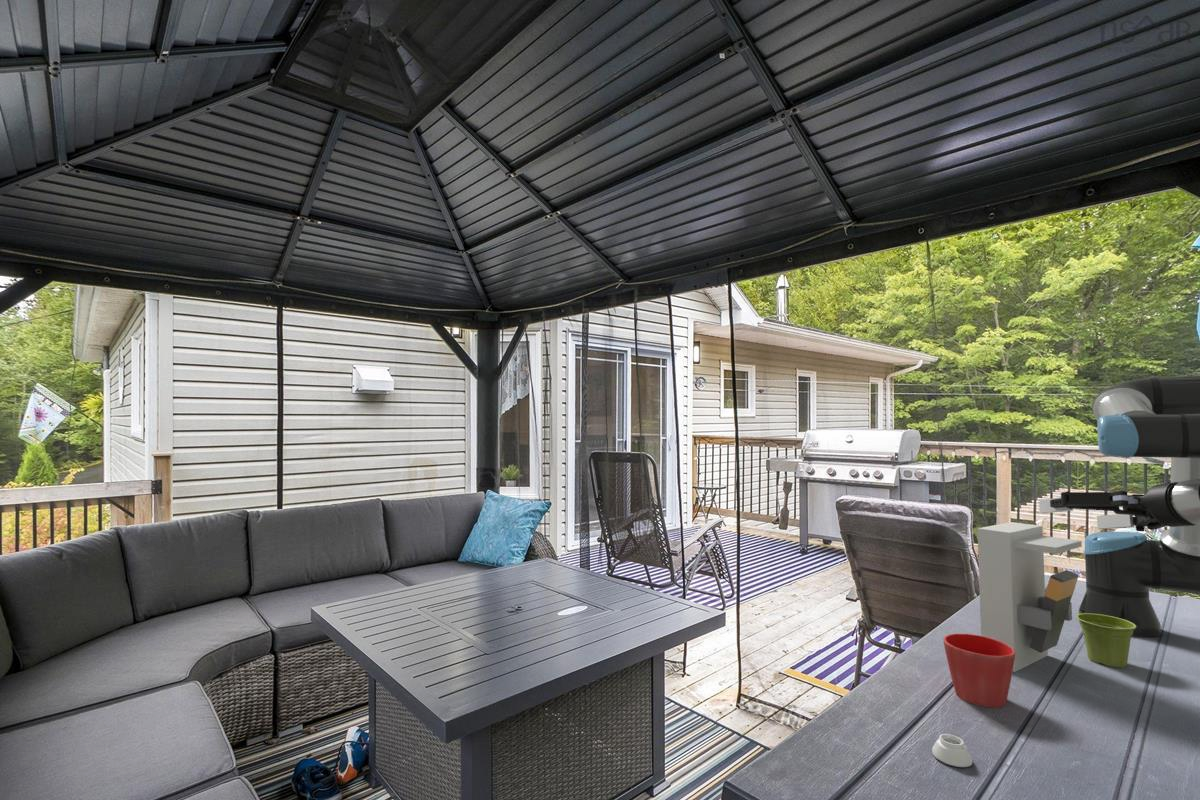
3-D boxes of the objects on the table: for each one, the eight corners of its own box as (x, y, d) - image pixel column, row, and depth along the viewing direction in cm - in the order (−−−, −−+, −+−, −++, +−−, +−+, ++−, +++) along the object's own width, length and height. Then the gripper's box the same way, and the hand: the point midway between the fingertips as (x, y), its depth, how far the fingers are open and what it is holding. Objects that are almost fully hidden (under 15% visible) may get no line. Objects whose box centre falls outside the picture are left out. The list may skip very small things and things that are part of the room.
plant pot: (1150, 673, 112) (1148, 629, 112) (1096, 669, 114) (1094, 626, 114) (1117, 655, 121) (1115, 614, 121) (1068, 651, 123) (1066, 611, 123)
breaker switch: (1046, 639, 118) (1067, 569, 115) (1057, 644, 116) (1079, 574, 114) (1028, 647, 113) (1049, 575, 111) (1040, 653, 112) (1062, 580, 109)
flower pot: (996, 718, 94) (994, 660, 95) (932, 691, 104) (931, 638, 104) (1029, 704, 99) (1027, 649, 100) (965, 679, 109) (963, 629, 109)
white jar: (976, 760, 82) (939, 746, 86) (976, 740, 82) (938, 726, 86) (966, 774, 79) (927, 758, 83) (965, 753, 79) (926, 738, 83)
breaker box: (1015, 646, 126) (1011, 522, 127) (1090, 667, 115) (1083, 530, 116) (982, 661, 117) (977, 528, 119) (1058, 686, 106) (1052, 538, 108)
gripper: (1126, 507, 93) (1016, 518, 113) (1253, 542, 96) (1123, 546, 116) (1122, 464, 96) (1016, 482, 116) (1246, 499, 98) (1121, 511, 118)
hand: (1069, 514), depth 116 cm, fingers open, 13 cm apart
